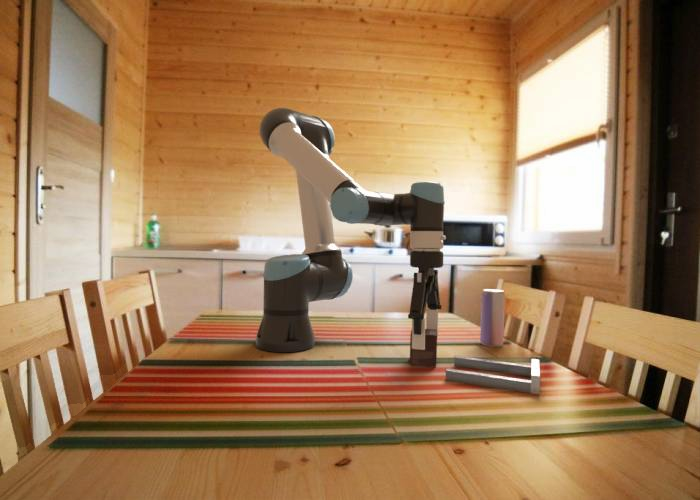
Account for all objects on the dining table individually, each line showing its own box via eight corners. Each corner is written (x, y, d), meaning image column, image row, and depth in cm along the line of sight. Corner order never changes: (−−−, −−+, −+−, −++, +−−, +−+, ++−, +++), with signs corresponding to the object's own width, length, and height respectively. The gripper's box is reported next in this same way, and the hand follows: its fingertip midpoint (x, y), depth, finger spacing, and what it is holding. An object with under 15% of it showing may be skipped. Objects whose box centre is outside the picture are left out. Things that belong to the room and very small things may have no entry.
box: (436, 367, 95) (437, 335, 95) (409, 365, 96) (410, 333, 96) (436, 359, 101) (437, 329, 101) (410, 357, 102) (411, 327, 102)
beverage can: (479, 345, 115) (481, 290, 114) (481, 340, 120) (482, 288, 120) (502, 348, 112) (504, 292, 112) (503, 343, 118) (505, 289, 117)
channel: (445, 380, 86) (445, 363, 86) (455, 364, 98) (455, 349, 97) (539, 394, 80) (540, 376, 79) (538, 375, 91) (539, 359, 90)
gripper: (431, 251, 85) (429, 357, 85) (452, 249, 107) (451, 332, 108) (394, 250, 87) (393, 353, 88) (423, 249, 110) (422, 330, 111)
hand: (425, 342), depth 98 cm, fingers open, 13 cm apart
